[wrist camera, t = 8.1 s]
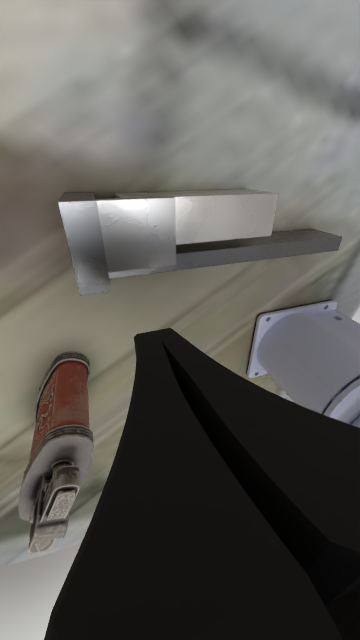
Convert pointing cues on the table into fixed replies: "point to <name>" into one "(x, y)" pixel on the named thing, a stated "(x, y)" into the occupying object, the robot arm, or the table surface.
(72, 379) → the lighter
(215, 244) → the bracket
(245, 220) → the bar
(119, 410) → the table surface
